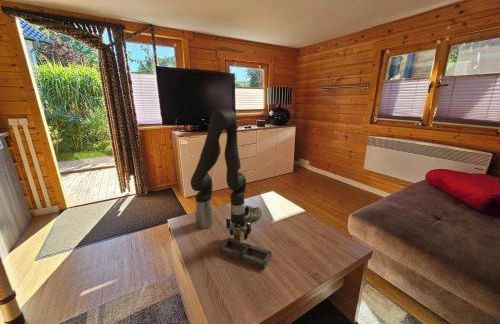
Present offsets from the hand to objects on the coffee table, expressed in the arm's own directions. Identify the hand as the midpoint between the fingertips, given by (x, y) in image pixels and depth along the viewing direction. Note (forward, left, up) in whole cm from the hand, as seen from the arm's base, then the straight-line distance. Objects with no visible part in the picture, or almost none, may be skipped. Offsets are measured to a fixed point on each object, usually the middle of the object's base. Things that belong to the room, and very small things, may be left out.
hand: (238, 237), depth 116 cm
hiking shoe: (-4, +21, -2) cm, 21 cm away
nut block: (0, 0, -2) cm, 2 cm away
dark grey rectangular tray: (+9, -9, -2) cm, 13 cm away
